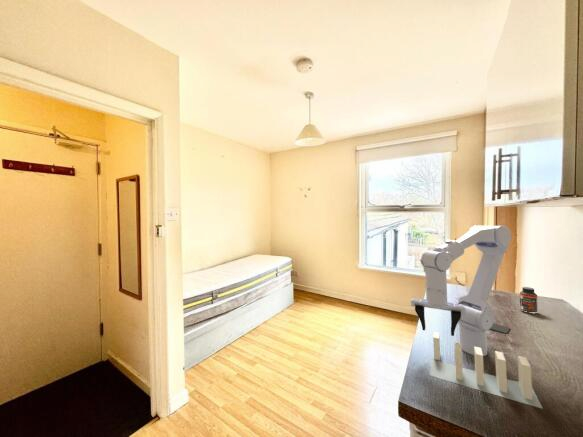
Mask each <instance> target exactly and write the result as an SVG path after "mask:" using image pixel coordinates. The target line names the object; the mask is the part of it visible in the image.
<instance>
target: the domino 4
mask: <svg viewBox="0 0 583 437" xmlns="http://www.w3.org/2000/svg"><path fill="white" fill-rule="evenodd" d="M517 368H518V369H517V370H518V372H517V373H518V382H519V388H520V390H521V393H522V395H523V397H524V398H527V399H530V400H532V388H533V384H532V383H533V382H532V366H531V364H530V362H529V361H528V359H527V357H525V356H521V355H517Z"/></svg>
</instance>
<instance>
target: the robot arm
mask: <svg viewBox="0 0 583 437" xmlns="http://www.w3.org/2000/svg"><path fill="white" fill-rule="evenodd" d="M511 241H512V235H511V230H510V229H509V228H508V227H507V226H506V225H504V224H503V225H502V224H501V225H477V224H476V225H473V226H471V227H469V228H468V231H467V232H466V233H465V234H463V235H461V237H459V238H458V239H456V240H454V239H447V240H445V243H443V244H441V245H439V246H436V247H435V249H433V250H426V251H425V252H423V253H422V255H421V259H420V264H421V266H422V267H423V272H424V273H425V274H424V275H425V276H424V277H425V297H426V298H425V299H424V298H411V299H410V304H411V305H410V306H411V307H414V311H415V313H416V314H417V316H418V319H419V322H420V325H421V329H422V331H426V319H425V308H429V309H434V310H442V311H448V312H450V318H451V319H450V320H451V323H450V336H451V337H454V336H455V331H456V328H457V324H458V325H459V328H458V329H459V341H458V342H457V343H461V348H462V352H463V351H464V352H465V353H468V354H470V355H473V356H474V346H475V347H479V348H481V350H482V354H483V357H485V356H487V355H488V337H487V331H490V330H489V329H490V328H491V327H492V325H493V324H494V314H495V310H494V308H493V307H492V305H491V304H490V303H489V302H488V301H489V298H490V294H491V293H492V290H493V287H494V284H495V281H496V278H497V275H498V273H499V269H500V268H501V264H502V261H503V258H504V256H505V255H504V254H506V253H507V252H508V248H509V246H510V243H511ZM473 245H474V246H475V247H476V248H477V249H476V250H478V251H480V252H482V256H481V257H480V258H481V259H480V261H479V264H478V267H477V270H476V273H475V275H474V277H473V281H472V282H471V286H470V288H469V292H468V294H466V295H463V296H461V297H458V300H457V302H456V303H452V302H448V286H447V285H448V284H447V282H448V281H447V271H448V270H449V269H450V268H451V265H452V263H453V262H454V261H455V260H457V259H458V258H460V257H462V256H464V254H465V250H467V248H470V247H472V246H473Z"/></svg>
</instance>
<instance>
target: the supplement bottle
mask: <svg viewBox="0 0 583 437" xmlns="http://www.w3.org/2000/svg"><path fill="white" fill-rule="evenodd" d="M521 288H522V289H521V290H522V291H520V292H519V310H520V309H521V310H523V311H527V312H537V311H539V309H538V295H537V293H536V292H535V288H533V287H527V286H523V287H521ZM521 310H520V311H521ZM523 311H522V312H523Z"/></svg>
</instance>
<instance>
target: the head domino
mask: <svg viewBox="0 0 583 437" xmlns="http://www.w3.org/2000/svg"><path fill="white" fill-rule="evenodd" d="M432 338H433V340H432V341H433V360H435V361H440V360H441V342H440V341H441V340H440V332H437V331H433V337H432Z"/></svg>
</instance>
